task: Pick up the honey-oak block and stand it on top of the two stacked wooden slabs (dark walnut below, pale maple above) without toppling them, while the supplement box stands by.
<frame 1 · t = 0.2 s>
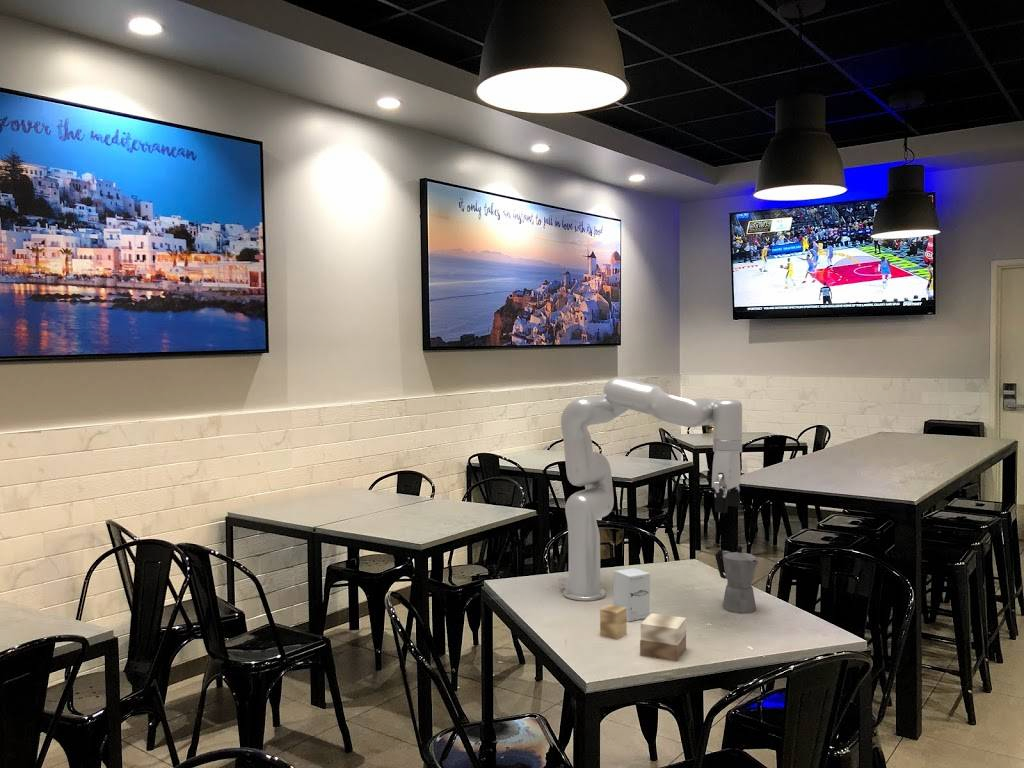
hand: (727, 509, 224), 31 cm above the table, fingers open, 9 cm apart
supplement box: (631, 617, 232), on the table
walnut slab: (663, 653, 204), on the table
oak block: (613, 635, 217), on the table
maple slab: (663, 637, 205), point 4 cm above the table
coffeepot: (736, 608, 239), on the table
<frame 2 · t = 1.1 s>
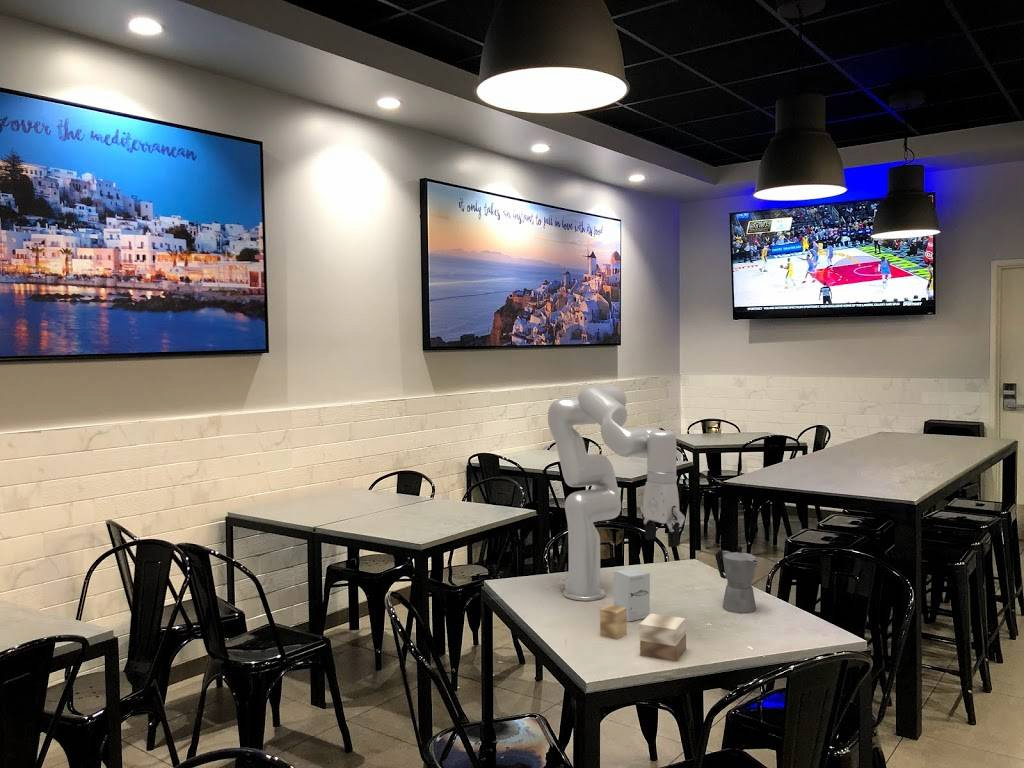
hand: (661, 542, 219), 23 cm above the table, fingers open, 9 cm apart
walnut slab: (663, 653, 204), on the table, touching maple slab
maple slab: (662, 637, 204), point 4 cm above the table, touching walnut slab
everything else where it was.
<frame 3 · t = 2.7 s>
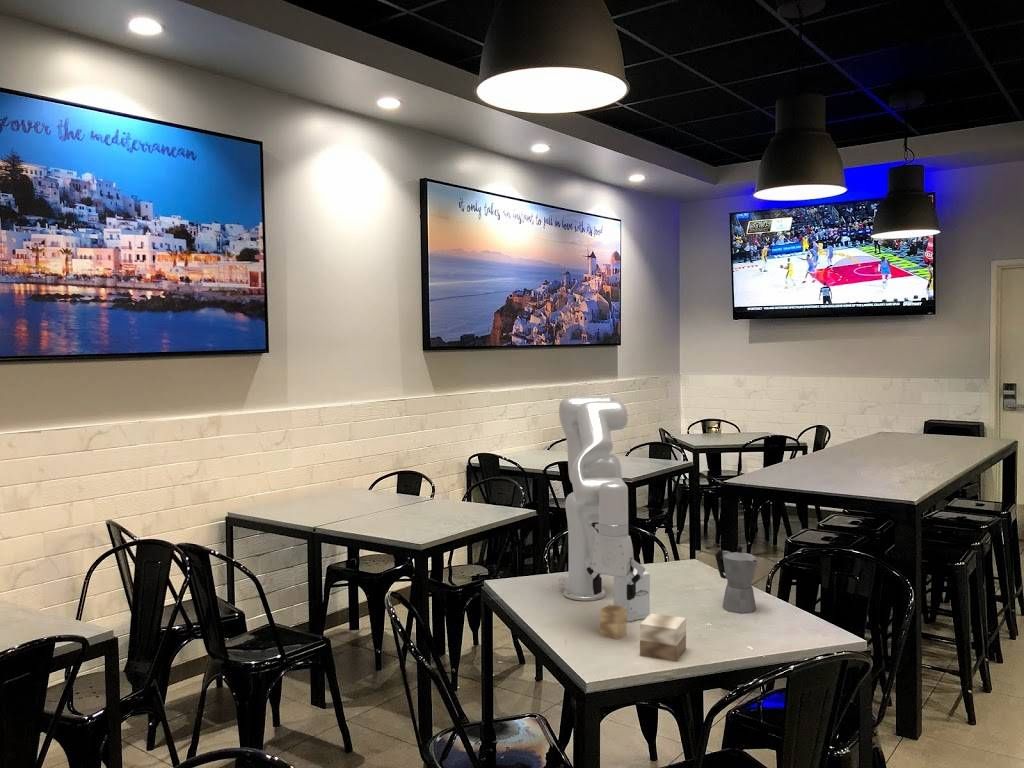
hand: (614, 596, 216), 10 cm above the table, fingers open, 9 cm apart
nothing on the table moved.
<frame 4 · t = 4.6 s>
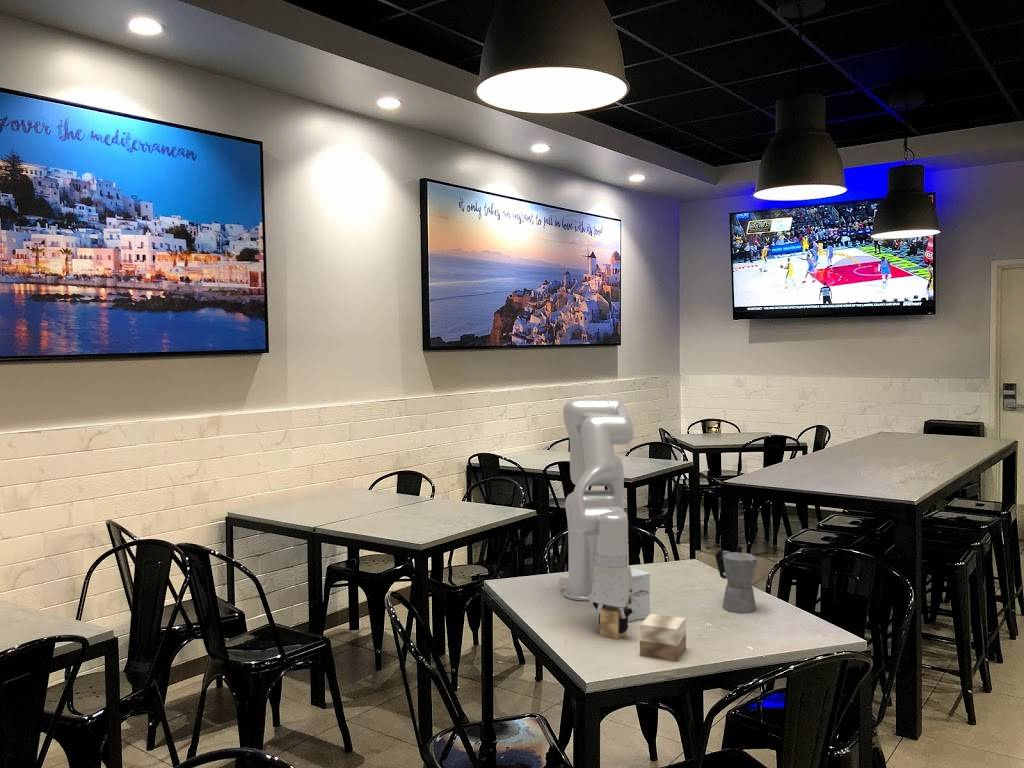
hand: (613, 629, 217), 1 cm above the table, fingers closed on oak block, 5 cm apart
oak block: (613, 634, 217), on the table, touching gripper
everything else where it was.
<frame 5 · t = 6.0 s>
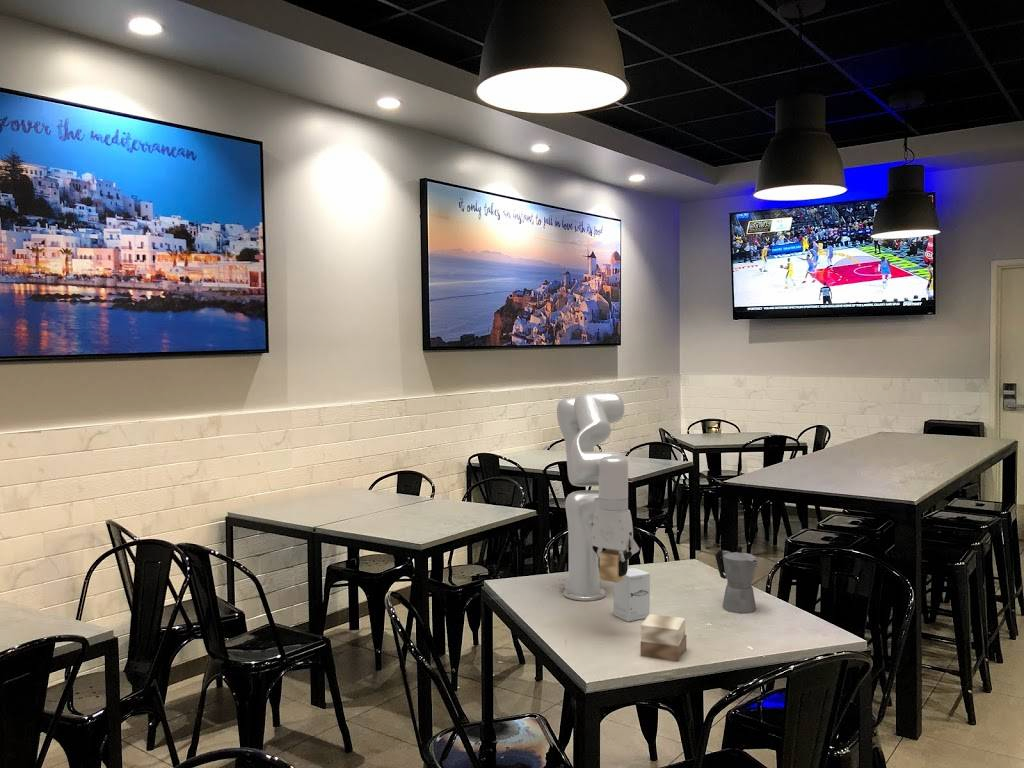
hand: (612, 572, 217), 16 cm above the table, fingers closed on oak block, 5 cm apart
oak block: (612, 578, 217), point 15 cm above the table, touching gripper
everything else where it was.
when the fingers open (10 cm above the table, at t = 9.8 s): oak block drops 1 cm, resting on maple slab.
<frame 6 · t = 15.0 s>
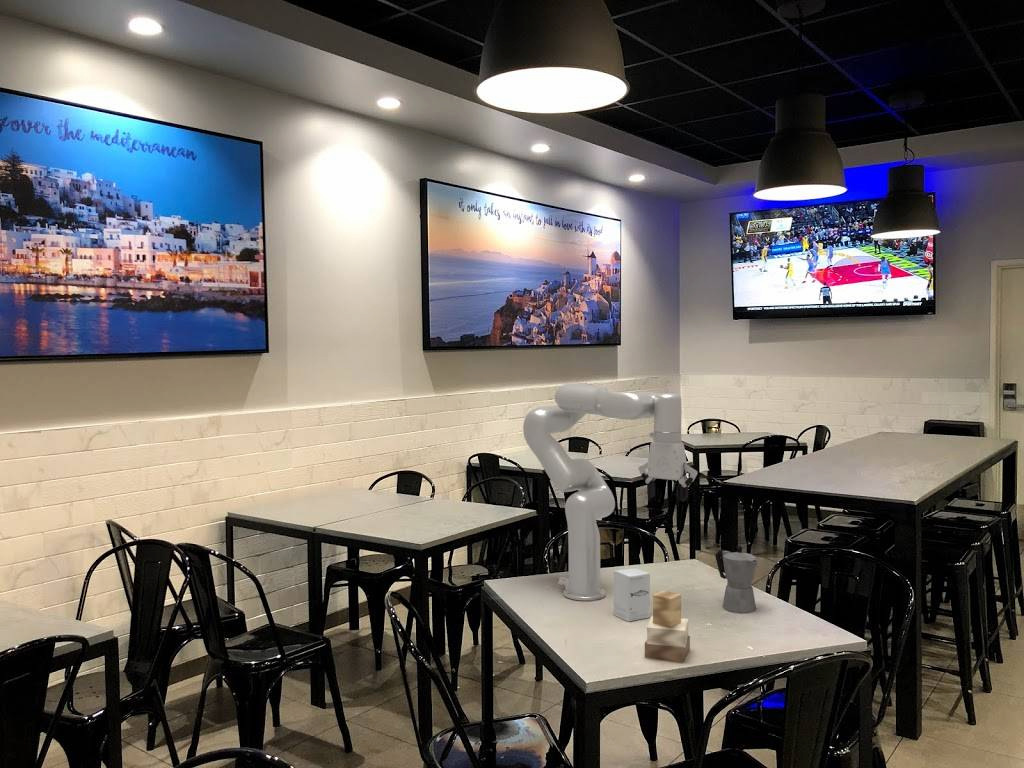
hand: (667, 498, 233), 32 cm above the table, fingers open, 9 cm apart
walnut slab: (667, 655, 203), on the table
oak block: (667, 623, 203), point 8 cm above the table, touching maple slab
maple slab: (667, 639, 203), point 4 cm above the table, touching oak block
everything else where it was.
at the end: oak block inside the target area on the walnut slab (0.1 cm from its centre), point 8.0 cm above the walnut slab's base; oak block tilted 0°; maple slab moved 1.5 cm from its start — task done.
